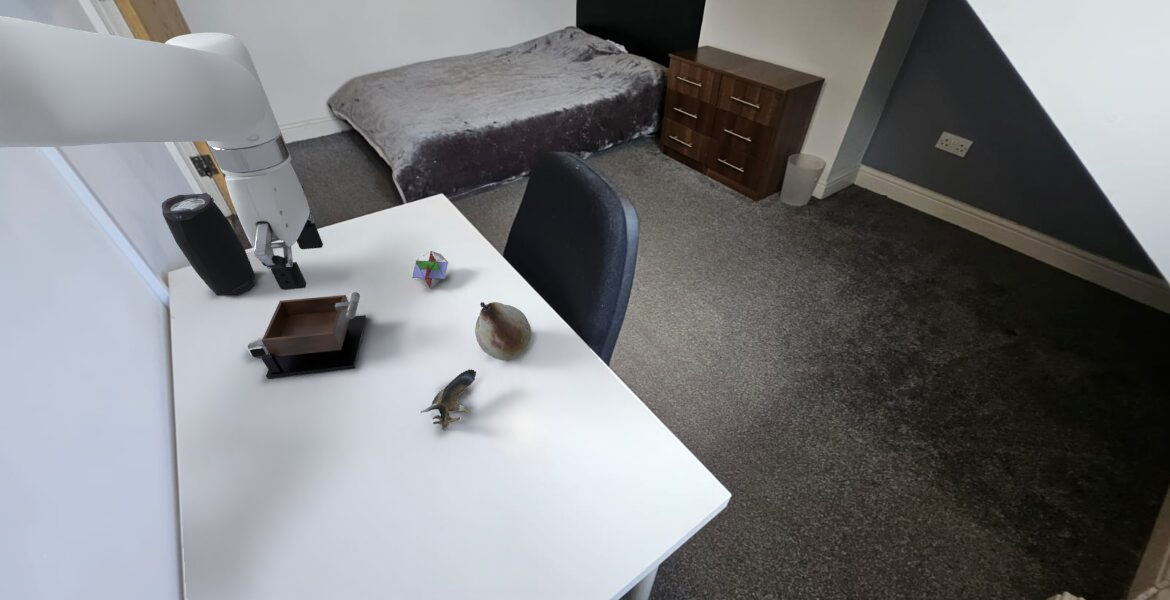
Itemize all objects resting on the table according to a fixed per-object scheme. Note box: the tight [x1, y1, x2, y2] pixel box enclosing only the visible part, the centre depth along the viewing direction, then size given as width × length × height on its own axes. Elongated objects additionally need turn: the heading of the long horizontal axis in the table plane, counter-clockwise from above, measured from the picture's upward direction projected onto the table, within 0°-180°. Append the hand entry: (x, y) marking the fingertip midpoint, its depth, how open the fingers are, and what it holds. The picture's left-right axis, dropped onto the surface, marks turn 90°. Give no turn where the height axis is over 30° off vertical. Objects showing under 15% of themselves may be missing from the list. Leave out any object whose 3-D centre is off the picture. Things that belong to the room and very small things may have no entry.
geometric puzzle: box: [411, 250, 449, 290], centre depth 98 cm, size 7×7×8 cm
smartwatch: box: [246, 336, 269, 358], centre depth 84 cm, size 4×2×4 cm
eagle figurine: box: [420, 368, 477, 431], centre depth 74 cm, size 8×7×9 cm
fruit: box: [474, 301, 532, 362], centre depth 82 cm, size 10×9×12 cm
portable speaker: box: [161, 192, 256, 296], centre depth 91 cm, size 9×9×20 cm
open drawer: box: [262, 291, 361, 357], centre depth 81 cm, size 14×10×6 cm
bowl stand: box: [260, 314, 368, 380], centre depth 84 cm, size 14×13×5 cm
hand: (303, 266), depth 67 cm, fingers open, 9 cm apart
